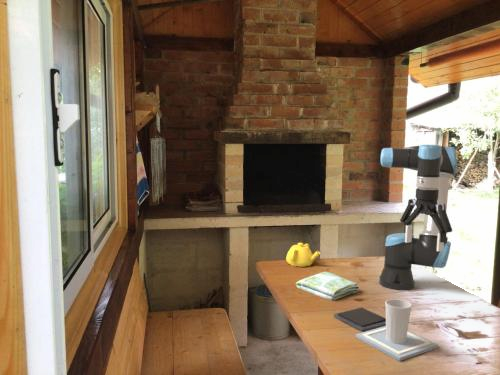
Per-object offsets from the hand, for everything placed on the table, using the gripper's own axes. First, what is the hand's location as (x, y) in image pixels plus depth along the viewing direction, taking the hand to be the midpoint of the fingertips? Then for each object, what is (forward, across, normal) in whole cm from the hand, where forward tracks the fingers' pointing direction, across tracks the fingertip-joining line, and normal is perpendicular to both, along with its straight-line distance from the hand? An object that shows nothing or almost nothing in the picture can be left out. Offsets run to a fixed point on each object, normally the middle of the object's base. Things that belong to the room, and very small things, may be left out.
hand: (423, 246), depth 162 cm
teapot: (+28, -75, +4) cm, 80 cm away
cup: (+25, +11, -24) cm, 37 cm away
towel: (+28, -38, -11) cm, 49 cm away
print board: (+26, +10, -24) cm, 37 cm away
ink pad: (+26, -8, -22) cm, 35 cm away
